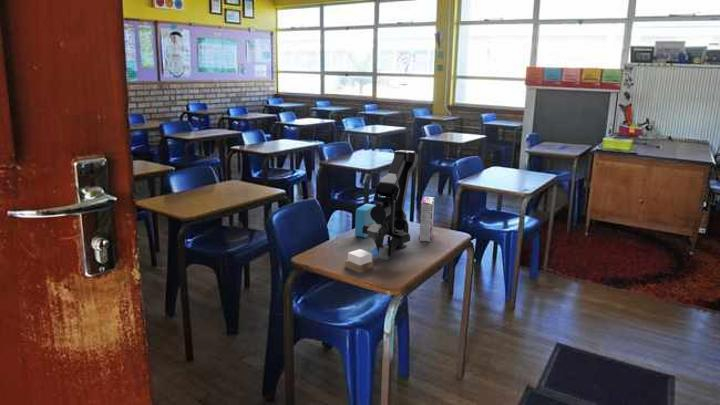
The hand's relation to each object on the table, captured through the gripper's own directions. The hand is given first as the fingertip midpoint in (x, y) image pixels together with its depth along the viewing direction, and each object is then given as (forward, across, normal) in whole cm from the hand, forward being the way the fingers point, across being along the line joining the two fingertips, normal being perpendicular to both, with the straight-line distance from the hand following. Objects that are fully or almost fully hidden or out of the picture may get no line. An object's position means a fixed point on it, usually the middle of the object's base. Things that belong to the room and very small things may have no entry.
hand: (384, 255), depth 198 cm
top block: (-2, 0, -14) cm, 14 cm away
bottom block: (+2, 0, -14) cm, 14 cm away
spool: (+1, 0, 0) cm, 1 cm away
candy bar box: (+1, -3, +31) cm, 31 cm away
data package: (+1, -24, +16) cm, 29 cm away
